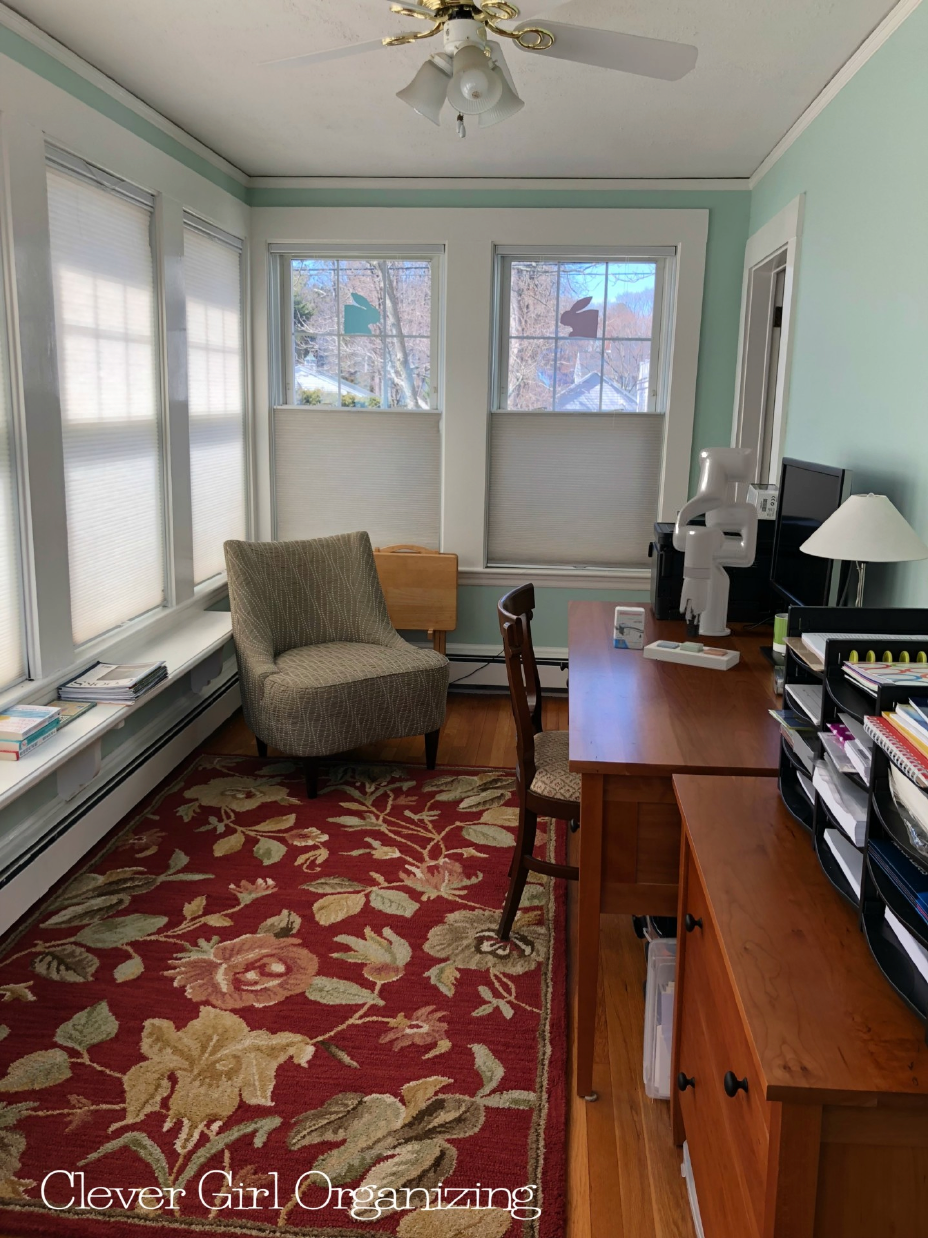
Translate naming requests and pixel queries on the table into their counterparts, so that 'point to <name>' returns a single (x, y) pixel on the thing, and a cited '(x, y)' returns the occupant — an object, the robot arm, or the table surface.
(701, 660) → the button panel
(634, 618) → the ink box
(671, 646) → the slate button
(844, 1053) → the table surface
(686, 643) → the sage button
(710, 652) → the terracotta button
